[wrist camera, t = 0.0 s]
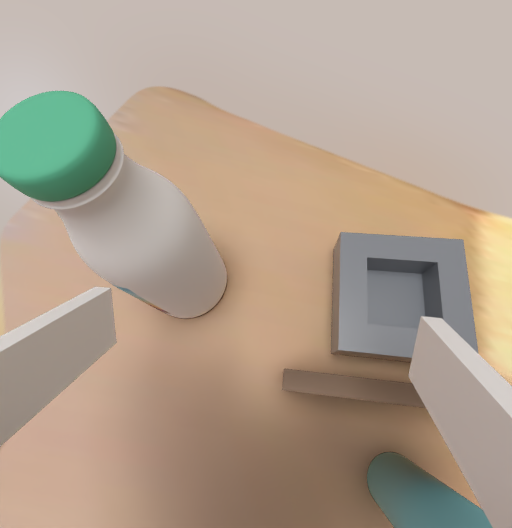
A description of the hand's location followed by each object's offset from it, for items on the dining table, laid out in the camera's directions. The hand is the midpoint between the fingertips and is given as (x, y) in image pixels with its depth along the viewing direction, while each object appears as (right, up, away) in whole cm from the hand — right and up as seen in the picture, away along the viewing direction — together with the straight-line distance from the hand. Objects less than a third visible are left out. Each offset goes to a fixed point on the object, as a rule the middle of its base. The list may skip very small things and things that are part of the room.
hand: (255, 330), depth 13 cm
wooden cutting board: (+11, -8, +12) cm, 18 cm away
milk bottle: (-7, +1, +18) cm, 19 cm away
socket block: (+12, -1, +15) cm, 19 cm away
